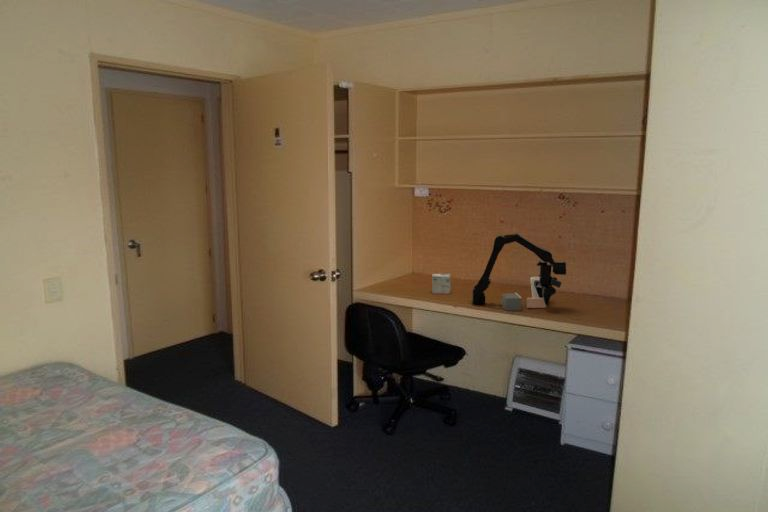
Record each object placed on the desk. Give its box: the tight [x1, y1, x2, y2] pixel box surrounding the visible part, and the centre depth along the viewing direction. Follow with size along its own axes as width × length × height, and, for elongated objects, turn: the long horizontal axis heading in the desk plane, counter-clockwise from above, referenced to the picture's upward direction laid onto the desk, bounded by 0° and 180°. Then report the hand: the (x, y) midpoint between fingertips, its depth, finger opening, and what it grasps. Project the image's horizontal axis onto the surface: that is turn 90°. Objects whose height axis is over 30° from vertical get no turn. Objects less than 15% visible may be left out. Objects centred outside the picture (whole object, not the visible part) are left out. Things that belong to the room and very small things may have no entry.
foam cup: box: [529, 276, 540, 298], centre depth 307 cm, size 10×9×13 cm
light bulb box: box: [431, 273, 451, 295], centre depth 326 cm, size 11×7×11 cm, turn 84°
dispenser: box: [500, 292, 523, 312], centre depth 293 cm, size 8×10×7 cm
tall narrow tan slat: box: [525, 297, 547, 309], centre depth 294 cm, size 10×2×5 cm, turn 92°
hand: (543, 302), depth 294 cm, fingers open, 9 cm apart
